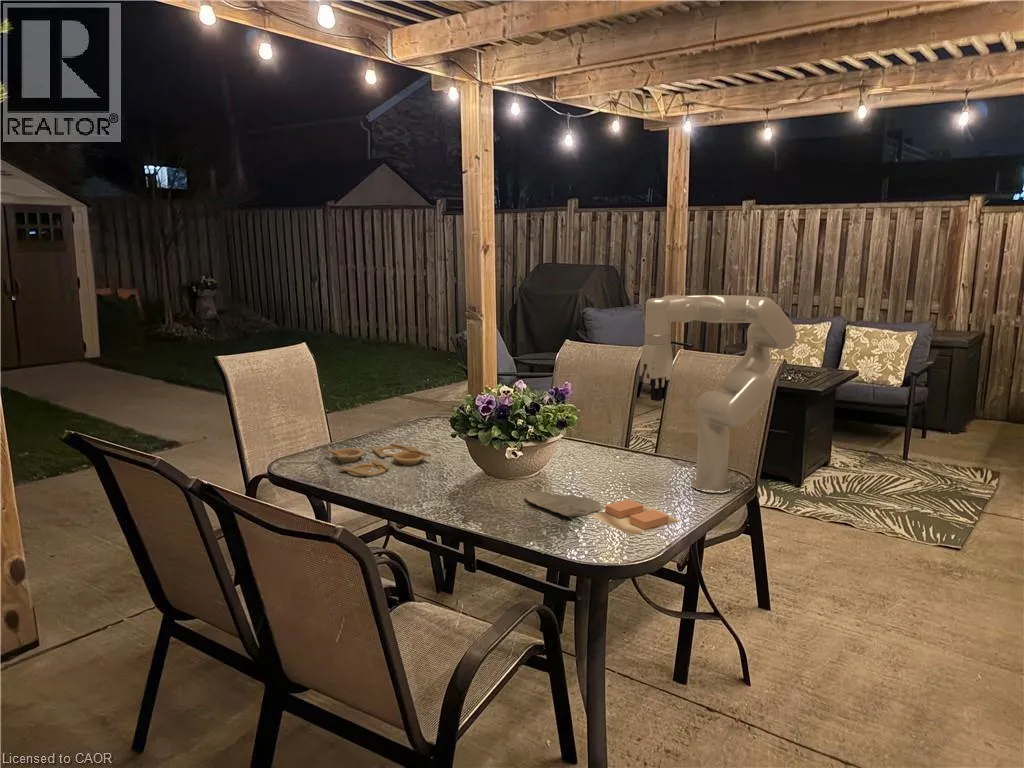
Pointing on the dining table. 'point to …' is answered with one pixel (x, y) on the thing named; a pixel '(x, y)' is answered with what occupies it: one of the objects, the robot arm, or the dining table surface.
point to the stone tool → (564, 503)
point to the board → (624, 522)
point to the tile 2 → (649, 519)
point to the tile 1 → (623, 508)
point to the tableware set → (353, 454)
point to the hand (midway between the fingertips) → (656, 400)
